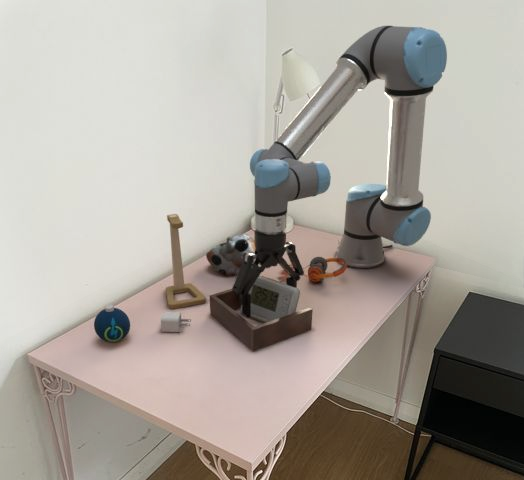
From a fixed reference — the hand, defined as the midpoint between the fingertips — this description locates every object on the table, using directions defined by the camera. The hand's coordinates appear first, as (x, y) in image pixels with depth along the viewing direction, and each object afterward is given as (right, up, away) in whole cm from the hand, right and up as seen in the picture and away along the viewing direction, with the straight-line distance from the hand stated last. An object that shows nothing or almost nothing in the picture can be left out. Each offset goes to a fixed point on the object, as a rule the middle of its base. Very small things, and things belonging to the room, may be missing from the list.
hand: (268, 308), depth 139 cm
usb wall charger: (-23, -6, -2) cm, 24 cm away
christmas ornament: (-38, -8, -7) cm, 39 cm away
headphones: (+13, +11, +23) cm, 29 cm away
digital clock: (0, -3, +2) cm, 4 cm away
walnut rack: (-2, -4, +1) cm, 4 cm away
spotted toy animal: (-10, +14, +27) cm, 33 cm away
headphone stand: (-24, +4, +12) cm, 27 cm away
